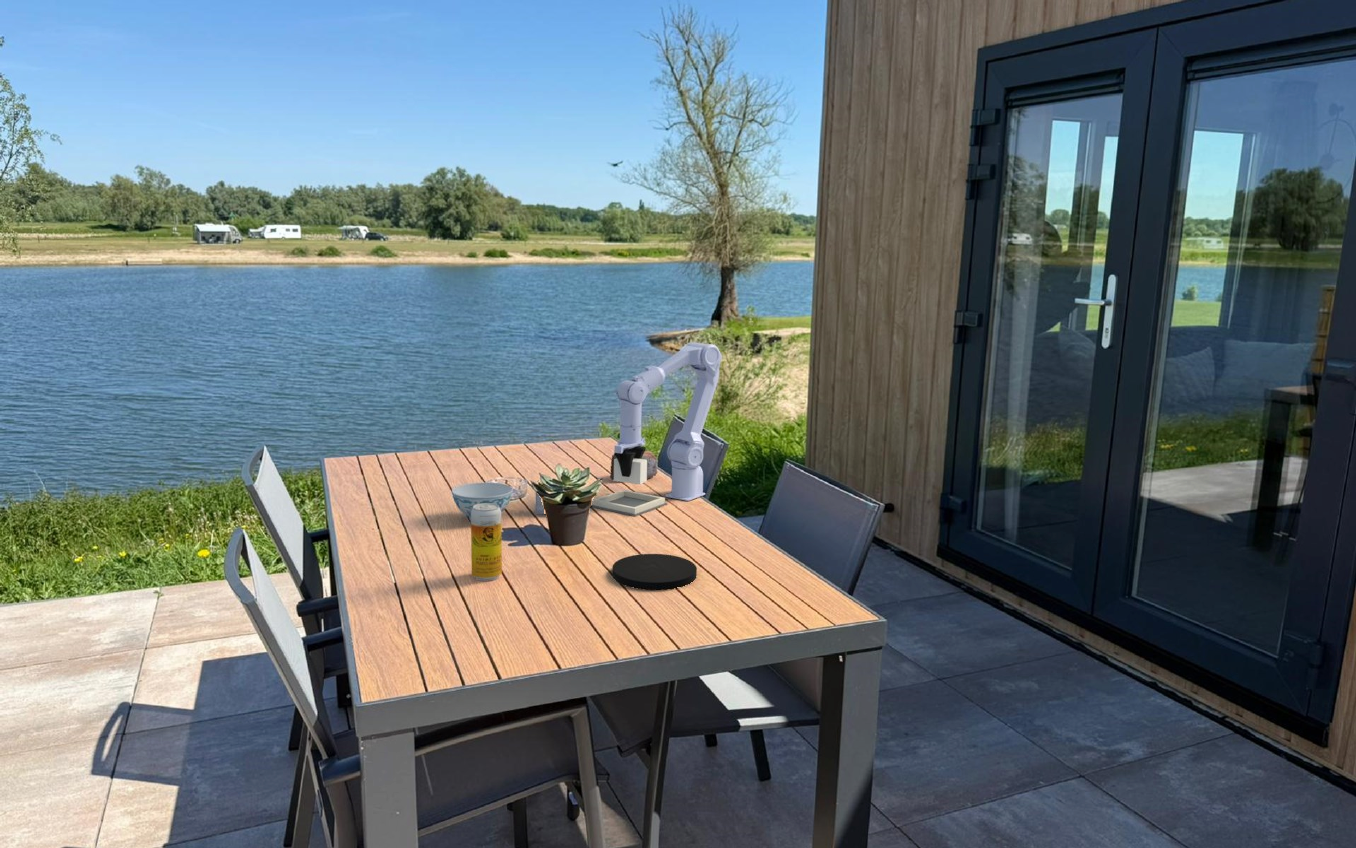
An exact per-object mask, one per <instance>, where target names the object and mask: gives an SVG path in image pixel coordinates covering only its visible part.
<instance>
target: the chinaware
mask: <svg viewBox="0 0 1356 848" xmlns="http://www.w3.org/2000/svg"><path fill="white" fill-rule="evenodd" d="M513 491H514V489H513V487H512V486H510V485H508V484H504V483H498V482H472V483H465V484H461V485H457V486H455V487H454V488H452V489H451V495H452V498H453V501H454V503H455V505H456V508H457V509H459V511H460V512H461V513H462V514H464V515H465V516H466V517H468V518H469V519H468V520H469V522H471V511H472V509H473V506H474V505H477V504H481V503H493V504H497V505H499V508H500V510H501V513H502V512H503V511H505V509H506V508H507V507H508V505H509V504H510V501H511V500H512V499H511V498H512V495H513Z"/></svg>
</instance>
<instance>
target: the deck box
mask: <svg viewBox="0 0 1356 848" xmlns="http://www.w3.org/2000/svg"><path fill="white" fill-rule="evenodd" d="M647 480H648V479H647V460H645V459H637V458H633V462H632V467H631V474H630V477H624V476H622V474H621V469H620V465H619V462H618V460H617V458H616V459H614V480H613V481H614V482H617V481H619V482H620V483H629V484H635V485H642V484H643V483H646V482H647Z"/></svg>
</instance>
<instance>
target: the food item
mask: <svg viewBox="0 0 1356 848" xmlns="http://www.w3.org/2000/svg"><path fill="white" fill-rule="evenodd" d="M614 459H616V456H615V454H614V453H613V454H612V456H611V461H610V465H611V466H610V475H609V479H610V480H612V481H614ZM641 459H645V460H647V480H649V479H653V478H654V477H656V476H657V474H658V463H659V462H658V461H659V459H658V458H657V457H656V456H655V455H654V453H653V452H652V451H650V450H645V452H644V454H643V456H642V458H641ZM618 482H619V481H618ZM618 482H617V483H618Z"/></svg>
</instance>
